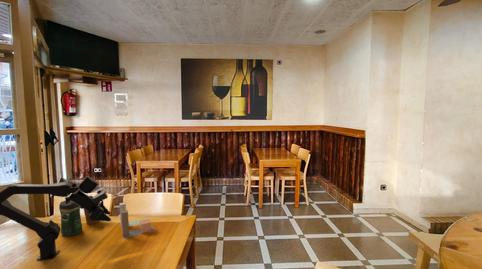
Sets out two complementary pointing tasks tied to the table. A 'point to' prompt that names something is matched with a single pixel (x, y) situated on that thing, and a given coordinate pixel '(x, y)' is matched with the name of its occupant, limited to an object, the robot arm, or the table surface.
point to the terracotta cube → (145, 226)
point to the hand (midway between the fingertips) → (110, 217)
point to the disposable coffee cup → (88, 218)
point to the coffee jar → (70, 218)
